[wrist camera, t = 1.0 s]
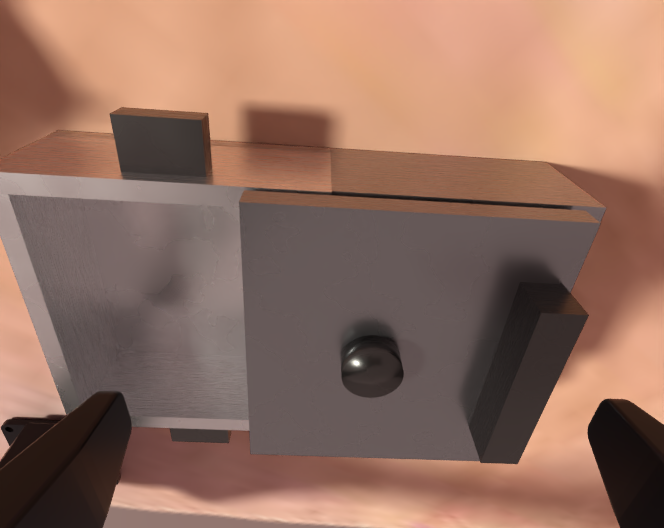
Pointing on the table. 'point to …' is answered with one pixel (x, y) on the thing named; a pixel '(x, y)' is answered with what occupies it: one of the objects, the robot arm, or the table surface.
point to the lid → (405, 323)
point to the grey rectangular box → (189, 249)
